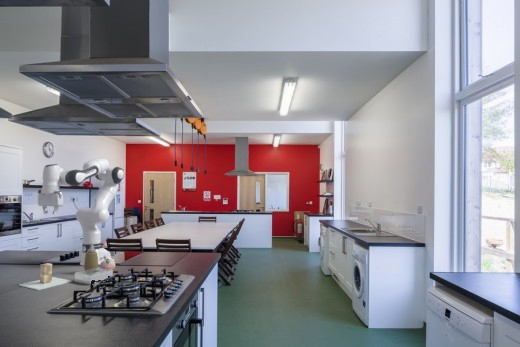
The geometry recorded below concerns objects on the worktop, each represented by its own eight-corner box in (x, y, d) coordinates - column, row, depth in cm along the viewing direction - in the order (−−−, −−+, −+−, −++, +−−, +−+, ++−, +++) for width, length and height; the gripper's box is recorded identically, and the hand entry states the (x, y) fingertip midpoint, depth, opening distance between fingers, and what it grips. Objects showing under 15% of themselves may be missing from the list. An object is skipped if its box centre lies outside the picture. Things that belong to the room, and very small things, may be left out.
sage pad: (52, 277, 197) (52, 276, 197) (71, 281, 188) (71, 280, 189) (18, 285, 181) (18, 284, 181) (38, 290, 173) (38, 289, 173)
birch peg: (47, 281, 187) (47, 263, 188) (51, 282, 186) (52, 263, 186) (39, 283, 184) (40, 264, 184) (44, 283, 182) (44, 265, 183)
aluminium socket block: (96, 275, 201) (97, 267, 202) (112, 278, 195) (112, 270, 195) (74, 281, 189) (74, 272, 189) (90, 284, 182) (90, 275, 183)
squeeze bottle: (101, 271, 212) (101, 242, 213) (90, 274, 205) (91, 244, 206) (91, 270, 215) (91, 242, 216) (80, 273, 207) (81, 244, 208)
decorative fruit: (117, 274, 205) (118, 257, 206) (104, 276, 199) (104, 259, 200) (111, 271, 212) (111, 255, 212) (97, 274, 206) (98, 257, 206)
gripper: (66, 190, 201) (65, 214, 200) (46, 190, 211) (45, 212, 210) (56, 190, 195) (55, 214, 195) (35, 190, 205) (35, 213, 204)
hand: (50, 213), depth 202 cm, fingers open, 8 cm apart
